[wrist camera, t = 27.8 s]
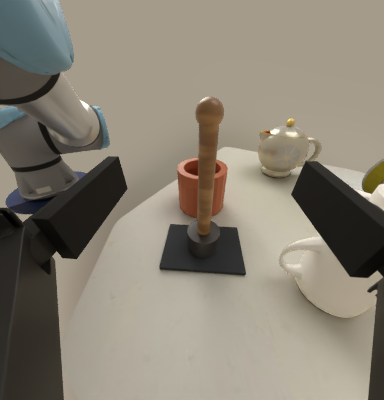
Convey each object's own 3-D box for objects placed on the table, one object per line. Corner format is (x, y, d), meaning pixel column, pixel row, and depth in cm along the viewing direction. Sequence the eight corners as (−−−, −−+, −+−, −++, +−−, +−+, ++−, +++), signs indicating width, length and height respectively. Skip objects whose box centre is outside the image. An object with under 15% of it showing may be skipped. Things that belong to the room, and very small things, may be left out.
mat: (159, 269, 28) (159, 267, 27) (170, 226, 36) (170, 224, 35) (245, 275, 27) (245, 273, 26) (236, 229, 35) (236, 227, 34)
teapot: (252, 179, 51) (266, 122, 41) (250, 162, 62) (260, 113, 52) (316, 186, 48) (348, 126, 38) (302, 166, 59) (324, 115, 49)
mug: (267, 252, 30) (287, 206, 24) (344, 268, 27) (390, 221, 21) (273, 301, 23) (302, 256, 17) (375, 329, 21) (455, 288, 14)
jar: (171, 202, 42) (167, 166, 36) (201, 187, 48) (203, 154, 42) (199, 224, 36) (201, 185, 30) (231, 204, 41) (237, 168, 35)
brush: (181, 244, 31) (171, 96, 17) (203, 229, 34) (209, 93, 20) (202, 264, 27) (211, 101, 13) (224, 246, 30) (250, 96, 16)
